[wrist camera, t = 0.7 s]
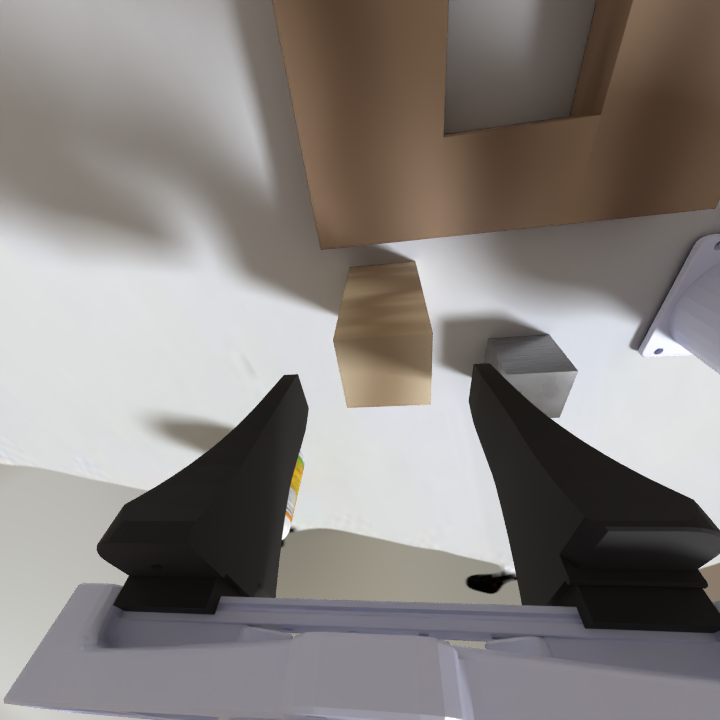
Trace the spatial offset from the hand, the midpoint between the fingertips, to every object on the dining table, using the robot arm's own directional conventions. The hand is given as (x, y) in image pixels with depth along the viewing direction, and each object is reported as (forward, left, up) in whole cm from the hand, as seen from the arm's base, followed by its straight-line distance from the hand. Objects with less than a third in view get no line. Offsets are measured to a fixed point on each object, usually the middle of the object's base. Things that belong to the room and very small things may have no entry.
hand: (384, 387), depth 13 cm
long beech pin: (0, 0, -9) cm, 9 cm away
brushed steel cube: (-9, +6, -9) cm, 14 cm away
